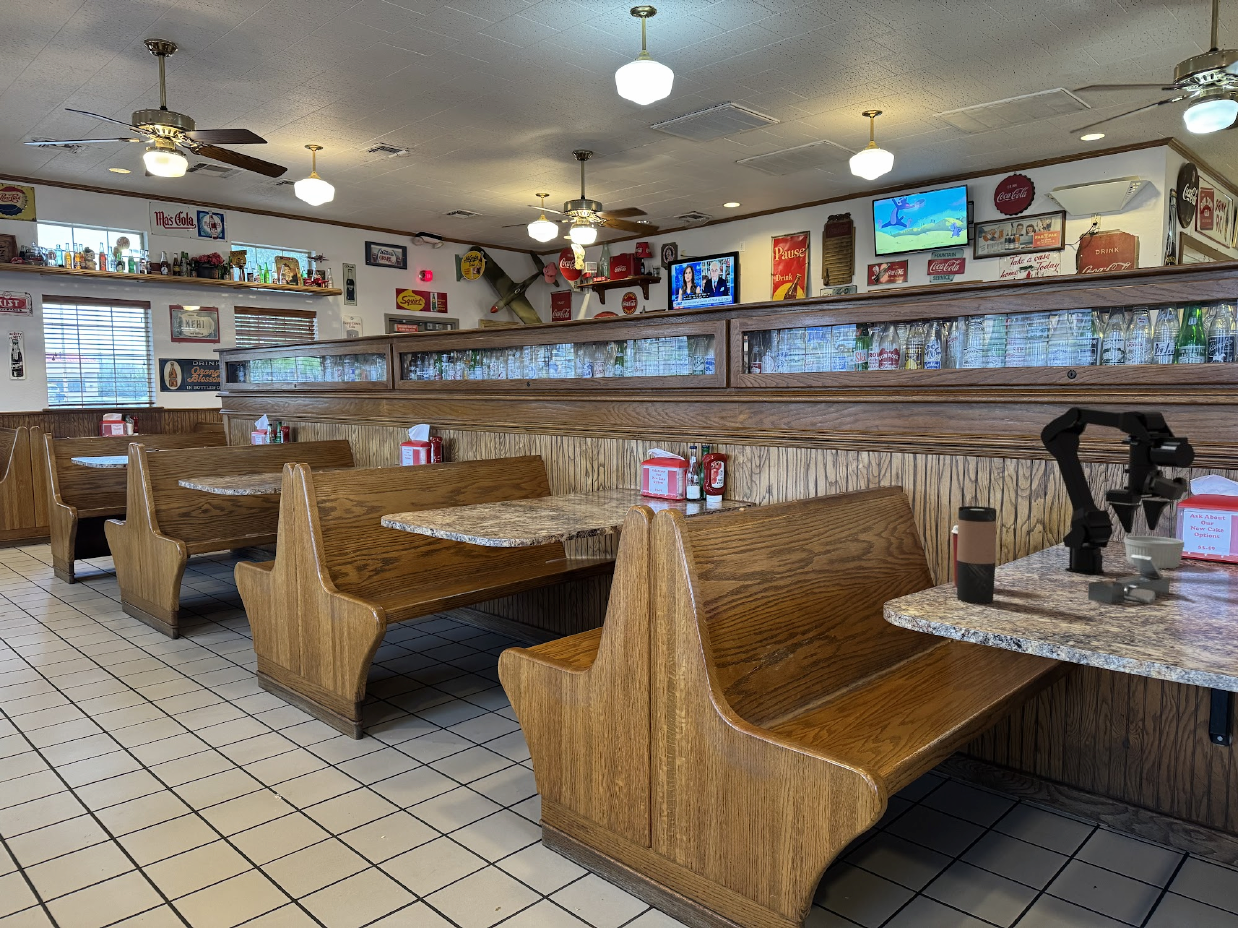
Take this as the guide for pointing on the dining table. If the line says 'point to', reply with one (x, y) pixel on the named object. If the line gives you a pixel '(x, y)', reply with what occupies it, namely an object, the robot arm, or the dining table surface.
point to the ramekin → (1155, 550)
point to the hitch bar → (1116, 590)
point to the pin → (1138, 594)
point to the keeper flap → (1146, 566)
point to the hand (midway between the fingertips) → (1140, 531)
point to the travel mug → (976, 554)
